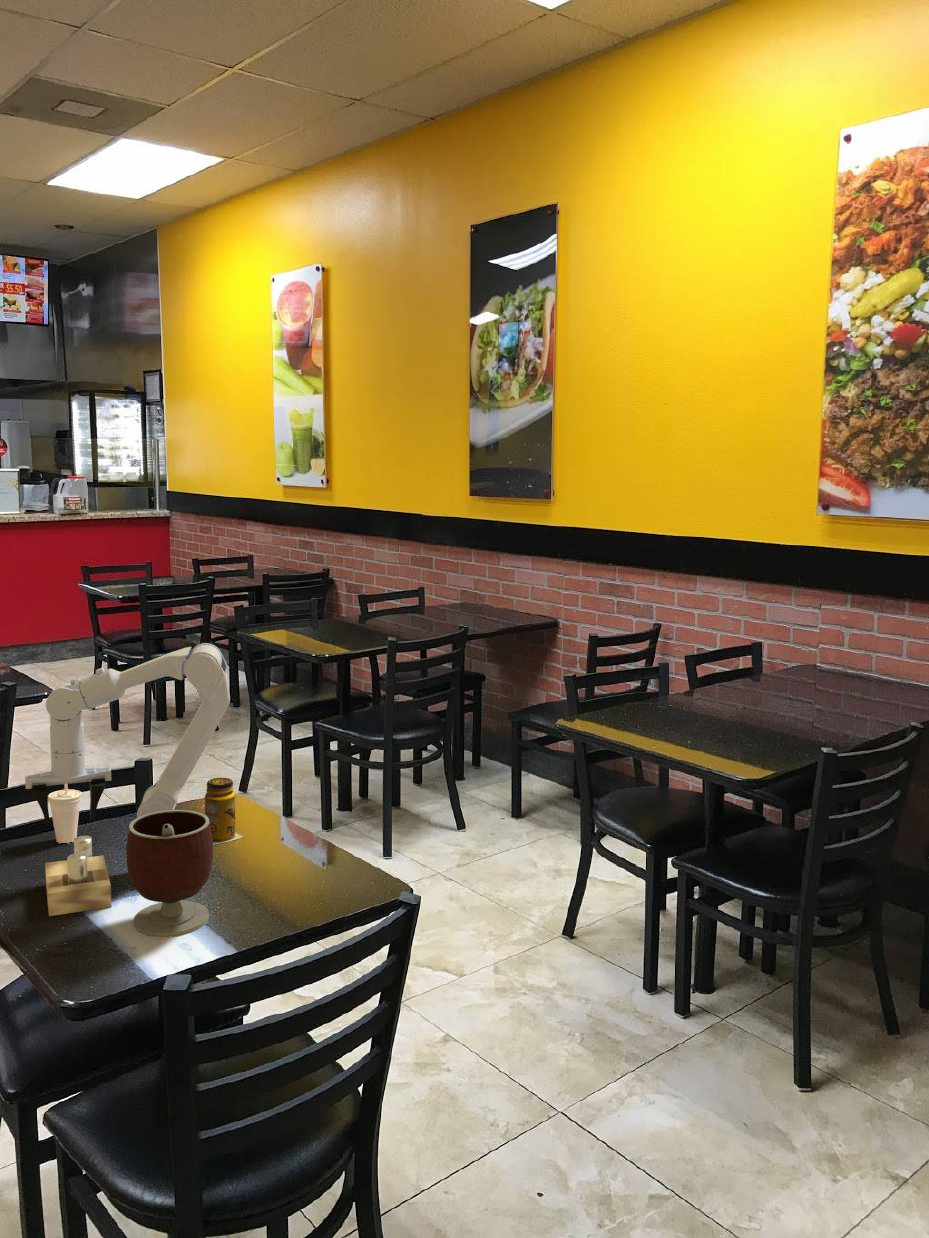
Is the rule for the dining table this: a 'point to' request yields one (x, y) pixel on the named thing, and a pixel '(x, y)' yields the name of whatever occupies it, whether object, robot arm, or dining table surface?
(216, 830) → the condiment
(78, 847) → the short pin
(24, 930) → the dining table surface
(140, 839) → the mate gourd
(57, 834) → the smoothie
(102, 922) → the dining table surface
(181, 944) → the dining table surface
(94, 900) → the pin block
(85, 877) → the tall pin
